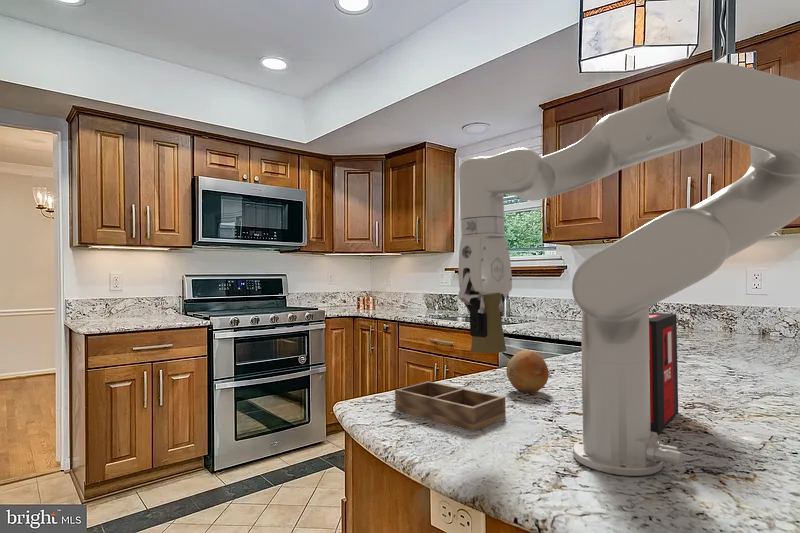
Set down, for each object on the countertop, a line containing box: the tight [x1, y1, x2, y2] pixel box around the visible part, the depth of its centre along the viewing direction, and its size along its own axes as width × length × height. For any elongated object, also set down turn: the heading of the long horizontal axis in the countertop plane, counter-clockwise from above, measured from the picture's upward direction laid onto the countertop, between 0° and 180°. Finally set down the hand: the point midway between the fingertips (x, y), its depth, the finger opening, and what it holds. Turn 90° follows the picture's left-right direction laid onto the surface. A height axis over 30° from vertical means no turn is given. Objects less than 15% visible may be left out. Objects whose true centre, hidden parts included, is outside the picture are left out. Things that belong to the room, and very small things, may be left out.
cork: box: [470, 291, 507, 354], centre depth 84 cm, size 6×6×11 cm
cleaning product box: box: [649, 312, 679, 436], centre depth 94 cm, size 16×9×20 cm, turn 139°
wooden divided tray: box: [394, 380, 507, 432], centre depth 99 cm, size 20×11×4 cm, turn 45°
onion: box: [506, 349, 550, 394], centre depth 115 cm, size 10×10×10 cm
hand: (486, 334), depth 84 cm, fingers closed on cork, 3 cm apart
